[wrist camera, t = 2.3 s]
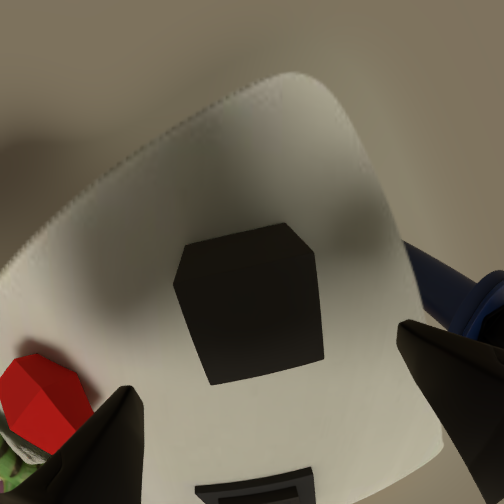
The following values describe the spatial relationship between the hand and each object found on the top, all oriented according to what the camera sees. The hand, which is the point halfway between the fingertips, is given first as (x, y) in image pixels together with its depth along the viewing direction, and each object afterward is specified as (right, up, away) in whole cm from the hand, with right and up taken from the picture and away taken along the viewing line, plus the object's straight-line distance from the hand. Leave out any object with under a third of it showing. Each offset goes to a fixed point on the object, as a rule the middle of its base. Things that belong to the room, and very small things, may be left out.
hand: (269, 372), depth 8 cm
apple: (-15, -6, +8) cm, 17 cm away
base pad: (+1, -24, +16) cm, 29 cm away
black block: (-1, +2, +6) cm, 7 cm away
